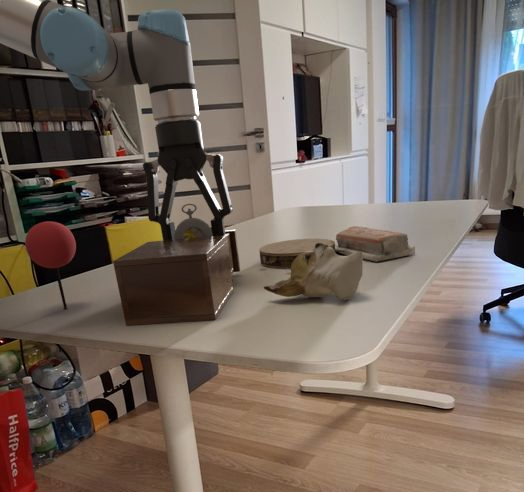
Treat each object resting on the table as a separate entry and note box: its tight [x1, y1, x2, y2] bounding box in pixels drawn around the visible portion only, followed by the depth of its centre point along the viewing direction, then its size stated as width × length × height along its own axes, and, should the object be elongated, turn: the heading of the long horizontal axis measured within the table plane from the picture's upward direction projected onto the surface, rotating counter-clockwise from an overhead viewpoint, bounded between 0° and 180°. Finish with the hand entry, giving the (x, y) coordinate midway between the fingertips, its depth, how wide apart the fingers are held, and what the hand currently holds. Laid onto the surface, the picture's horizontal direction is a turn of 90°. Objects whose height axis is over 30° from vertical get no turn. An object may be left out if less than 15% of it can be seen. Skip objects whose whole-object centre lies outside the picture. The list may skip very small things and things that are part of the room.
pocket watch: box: [174, 203, 213, 239], centre depth 93 cm, size 8×8×10 cm
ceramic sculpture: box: [263, 243, 364, 301], centre depth 81 cm, size 11×9×15 cm
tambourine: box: [258, 238, 336, 269], centre depth 110 cm, size 16×16×3 cm
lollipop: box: [24, 221, 77, 310], centre depth 89 cm, size 8×8×15 cm
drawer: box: [184, 229, 241, 276], centre depth 97 cm, size 20×13×8 cm, turn 173°
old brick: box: [335, 225, 416, 263], centre depth 109 cm, size 18×5×10 cm
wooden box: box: [112, 235, 234, 326], centre depth 83 cm, size 16×14×10 cm
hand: (197, 257), depth 95 cm, fingers closed on pocket watch, 7 cm apart
